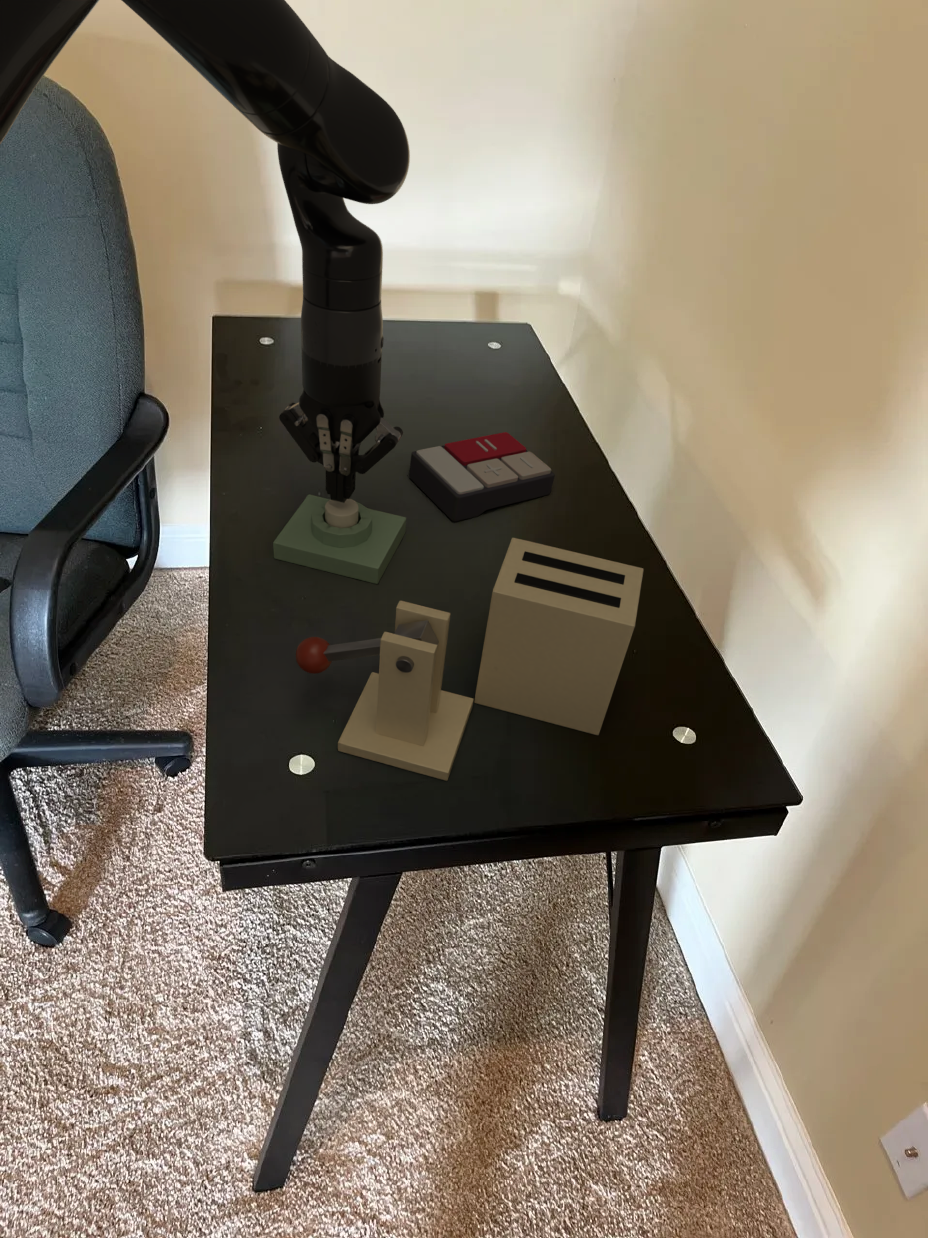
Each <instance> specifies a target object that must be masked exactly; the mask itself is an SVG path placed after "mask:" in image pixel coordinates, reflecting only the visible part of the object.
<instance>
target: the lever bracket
mask: <svg viewBox="0 0 928 1238" xmlns="http://www.w3.org/2000/svg"><path fill="white" fill-rule="evenodd" d="M395 610H396V611H395V624H394V632H395V631H396V629H397V627H398V625H399V624H405V623H412V622H419V621H426V620H428V621H429V623H430V625H431V627H432V629H433V631H434V633H435V635H436V637H437V639H438V641H439V643H438V646H437V645H435V644H431V643H427V642H423V641H420V640H416V639H412V638H408V637H404V636H400V635H396V634H394V633H392V632H388V631H383V634H382V636H381V637H380V638H381V641H380V655H379V664H378V665H379V666H378V672H373V671H371V673H370V675H369V677H368V679H367V682H366V683H365V686H364V687H363V690H362V691H361V694H360V696H359V698H358V700H357V702H356V704H355V707H354V708H353V710H352V712H351V714H350V717H349V718H348V721H347V723H346V724H345V727H344V729H343V731H342V733H341V735H340V737H339V739H338V742H337V751H338V752H341V753H345V754H348V755H352V756H354V757H359V758H362V759H366V760H370V761H374V762H377V763H380V764H385V765H388V766H391V767H395V768H399V769H402V770H406V771H410V772H413V773H416V774H420V775H424V776H427V777H430V778H431V777H432V778H435V779H437V780H442V781H446V782H447V781H448V780H449V777H450V774H451V771H452V768H453V766H454V763H455V759H456V757H457V754H458V751H459V748H460V744H461V742H462V739H463V736H464V733H465V730H466V727H467V724H468V721H469V719H470V715H471V712H472V710H473V707H474V706H473V705H474V700H475V698H474V697H473V698H472V697H469V696H466V695H462V694H457V693H454V692H450V691H447V690H442V686H443V685H442V684H443V677H444V670H445V661H446V654H447V646H448V637H449V630H450V621H451V612H449V611H444V610H440V609H435V608H432V607H428V606H423V605H421V604H420V605H419V604H416V603H412V602H408V601H404V600H399V601H398V603H397V605H396V607H395Z"/></svg>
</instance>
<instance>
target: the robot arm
mask: <svg viewBox="0 0 928 1238" xmlns="http://www.w3.org/2000/svg"><path fill="white" fill-rule="evenodd" d="M121 1H122V2H123V4H125V5H126V6H127V7H128V8H129V9H130V10H131V11H132V12H134V13H135V14H136V15H137V16H138V17H139V18H140V19H142V21H144V22H145V23H146V24H147V25H148V26H149V27H150V28H151V29H152V30H154V31H155V32H156V33H157V35H159V36H160V37H161V38H162V39H163V40H164V41H165V42H166V43H167V44H168V45H170V47H172V49H173V50H175V51H176V52H177V53H178V54H179V55H180V56H181V57H182V58H183V59H184V60H185V61H186V62H187V63H188V64H189V65H190V66H191V67H192V68H193V69H195V71H197V73H199V74H200V75H201V76H202V77H203V78H204V80H206V81H207V82H208V83H209V84H210V85H211V86H212V87H213V88H214V89H215V90H216V91H217V92H218V93H219V94H220V95H221V96H222V97H223V98H224V99H225V100H226V101H228V103H229V104H231V106H232V107H234V108H235V109H236V110H237V111H238V112H239V113H240V114H241V115H242V116H243V117H244V118H246V120H247V121H249V123H251V124H252V125H253V127H255V128H256V129H257V130H258V131H259V132H261V133H262V134H263V135H264V136H266V137H267V138H268V139H270V140H272V141H273V142H275V143H276V144H277V145H276V146H277V147H276V149H277V159H278V166H279V169H280V174H281V178H282V182H283V185H284V189H285V192H286V196H287V200H288V203H289V208H290V211H291V214H292V219H293V221H294V226H295V229H296V232H297V235H298V240H299V243H300V247H301V269H302V271H301V272H302V273H301V275H302V304H301V311H300V312H301V313H300V341H301V342H300V345H301V346H300V347H301V379H302V380H301V381H302V384H301V385H302V393H301V395H300V396H299V399H298V402H290V403H289V404H288V405H287V406H286V407H285V409H283V410H282V412H281V413H280V414H279V416H278V419H279V421H280V423H281V424H282V425H283V427H284V428H285V429H286V431H287V432H288V433H289V435H290V436H291V437H292V439H293V440H294V442H295V443H296V445H297V446H298V447H299V449H300V450H301V451H302V453H303V455H305V457H306V458H307V460H308V461H309V462H310V463H314V464H315V463H319V464H320V465H321V466H323V468H324V471H325V491H326V494H327V495H330V500H333V501H338V502H342V503H345V501H346V500H347V499H349V498H350V499H351V497H352V495H353V494H354V492H355V491H356V473H358V474H360V475H365V474H366V473H367V472H368V471H369V470H371V469H372V468H373V467H374V466H376V464H378V463H379V462H380V461H381V460H382V459H383V458H384V457H386V456H387V455H388V454H389V453H390V452H391V451H392V450H393V449H395V447H396V446H397V444H398V443H399V442H400V440H401V438H402V437H403V435H404V431H403V429H402V427H400V426H397V425H396V426H392V425H391V424H390V423H389V422H388V420H386V419H385V418H384V417H385V411H384V410H385V409H384V408H383V406H382V403H381V386H382V385H381V384H382V383H381V381H382V361H383V360H382V359H383V358H382V357H383V348H384V321H383V320H384V317H383V309H382V293H383V292H382V287H383V269H384V268H383V267H384V249H383V242H382V239H381V237H380V235H379V234H378V233H377V232H376V231H375V230H374V229H373V228H371V227H370V226H369V225H367V224H365V223H364V222H362V221H360V220H359V219H357V218H356V216H354V215H353V214H352V213H351V212H350V211H349V210H348V206H347V205H346V201H345V199H346V200H349V201H353V202H356V203H359V204H365V205H378V204H381V203H385V202H387V201H389V200H390V199H392V198H393V197H394V196H395V195H396V194H397V193H398V192H399V191H400V189H402V187H403V186H404V183H405V182H406V179H407V176H408V172H409V168H410V163H411V162H410V161H411V152H410V151H411V150H410V145H409V138H408V135H407V132H406V130H405V129H406V128H405V126H404V124H403V122H402V120H401V119H400V117H399V115H398V114H397V113H396V110H395V109H394V108H393V107H392V106H391V105H390V104H389V103H388V102H387V101H386V100H385V99H384V98H383V97H382V96H381V95H379V93H377V92H376V91H375V90H373V89H372V88H371V87H370V86H369V85H367V84H366V83H365V82H364V81H362V80H361V79H360V78H359V77H358V76H356V75H355V74H353V73H352V72H350V71H349V70H348V69H346V68H345V67H343V66H342V65H340V64H339V63H338V62H336V61H335V60H334V59H332V58H331V57H330V55H328V53H327V52H326V50H325V49H324V47H323V46H322V45H321V43H320V42H319V41H318V40H317V38H316V37H315V36H314V34H313V33H312V31H310V29H309V28H308V26H307V25H306V24H305V23H304V21H303V20H302V18H301V17H300V16H299V15H298V14H297V12H295V10H294V8H292V7H291V5H289V3H288V2H287V1H286V0H121ZM99 2H100V0H0V145H2V143H3V141H4V140H5V138H6V136H7V135H8V133H9V131H10V130H11V128H12V126H13V124H14V123H15V122H16V120H17V118H18V116H19V115H20V112H21V111H22V110H23V108H24V106H25V105H26V103H27V101H28V100H29V99H30V97H31V95H32V93H33V92H34V91H35V89H36V87H37V85H38V84H39V83H40V81H41V80H42V78H43V77H44V76H45V74H46V73H47V72H48V70H49V68H50V67H51V66H52V64H53V63H54V61H55V60H56V59H57V57H58V56H59V55H60V54H61V52H62V51H63V49H64V48H65V47H66V45H67V44H68V42H70V40H71V38H72V37H73V36H74V35H75V33H76V32H77V31H78V29H79V28H80V27H81V25H82V24H83V23H84V21H85V20H86V19H87V17H88V16H89V15H90V14H91V12H92V11H93V10H94V8H95V7H96V6H97V5H98V3H99ZM375 429H376V434H375V436H374V441H375V443H374V444H373V445H372V446H371V447H370V448H369V449H368V450H366V452H365V453H363V454H360V448H361V444H362V442H363V441H364V440H365V439H366V438H367V437H368V436H370V434H371V433H372V432H373V431H374V430H375Z"/></svg>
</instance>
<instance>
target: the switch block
mask: <svg viewBox="0 0 928 1238" xmlns="http://www.w3.org/2000/svg"><path fill="white" fill-rule="evenodd" d="M329 500H331V498H325V497H322V496H318V495H314V494H309V493H308V494H307V495H306V497H305V498H304V499H303V501H302V502H301V503H300V505H299V506H298V508H297V509H296V510H295V512H294V513H293V515H292V516H291V517H290V519H288V521H287V523H286V524H285V526H284V527H283V529H281V531H280V532H279V534H278V535H277V537H275V539H274V541H272V548H273V549H272V550H273V559H275V560H278V561H282V562H287V563H291V564H295V565H299V566H303V567H306V568H311V569H315V570H319V571H323V572H327V573H331V574H335V575H338V576H339V575H340V576H343V577H347V578H351V579H355V580H359V581H363V582H367V583H371V584H375V585H379V582H380V580H381V579H382V577H383V575H384V573H385V572H386V570H387V568H388V566H389V564H390V562H391V560H392V559H393V556H394V555H395V554H396V551H397V549H398V547H399V545H400V543H401V541H402V539H403V538H404V536H405V534H406V532H407V531H406V528H407V517H406V516H402V515H397V514H392V513H388V512H384V511H380V510H378V509H377V510H376V509H372V508H367V507H366V506H364V505H363V504H362V503H360V502H358V501H355V502H356V503H357V504H358V522H357V524H356V525H354V526H352V527H350V528H337V527H333V526H330V525H329V524H327V522H326V520H325V505H326V503H327V502H328V501H329Z"/></svg>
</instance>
